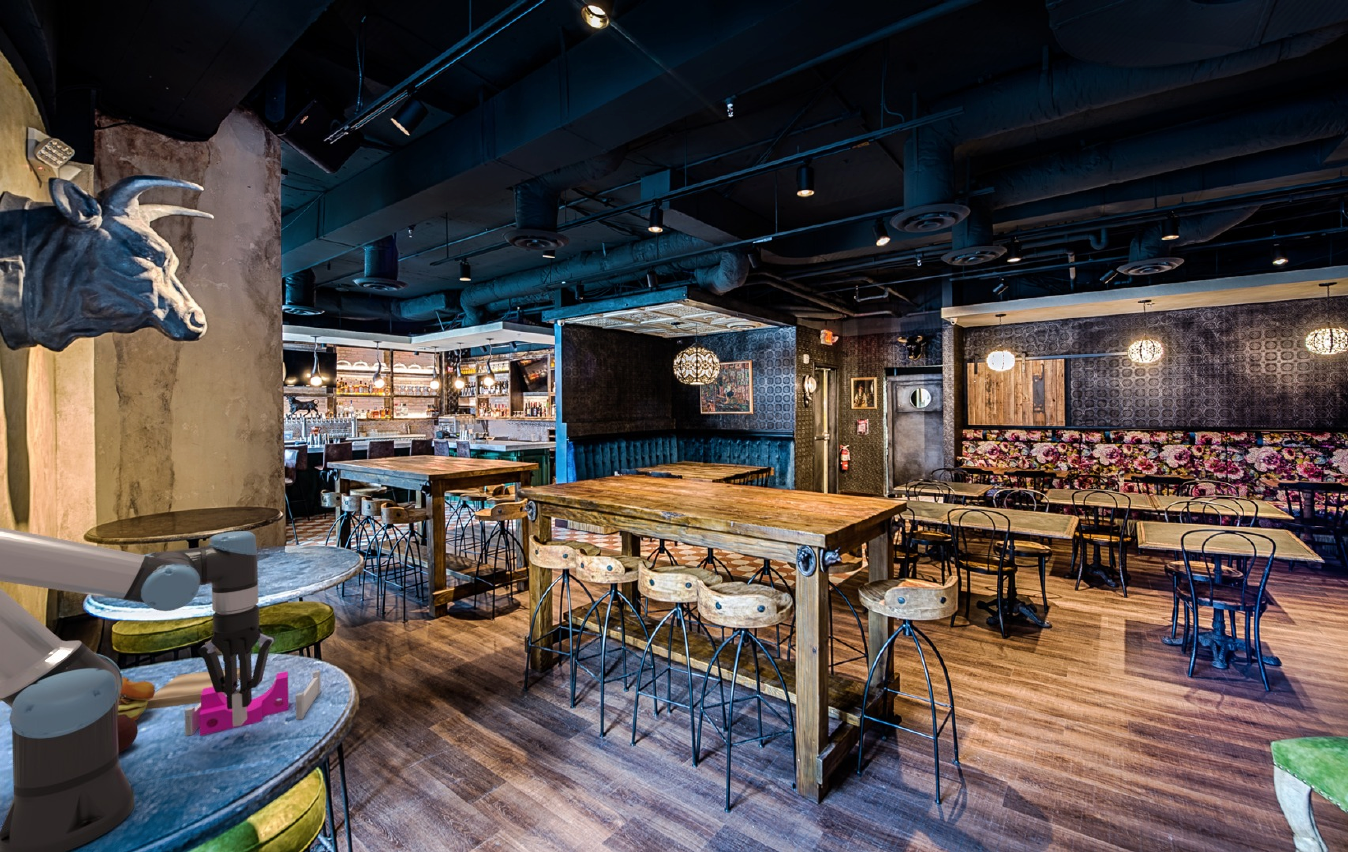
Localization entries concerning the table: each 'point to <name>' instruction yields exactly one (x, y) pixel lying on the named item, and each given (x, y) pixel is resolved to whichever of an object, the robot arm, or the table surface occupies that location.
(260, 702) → the toy block
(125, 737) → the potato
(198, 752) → the table surface
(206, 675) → the board
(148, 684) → the cheeseburger
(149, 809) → the table surface
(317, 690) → the grey bracket pieces
